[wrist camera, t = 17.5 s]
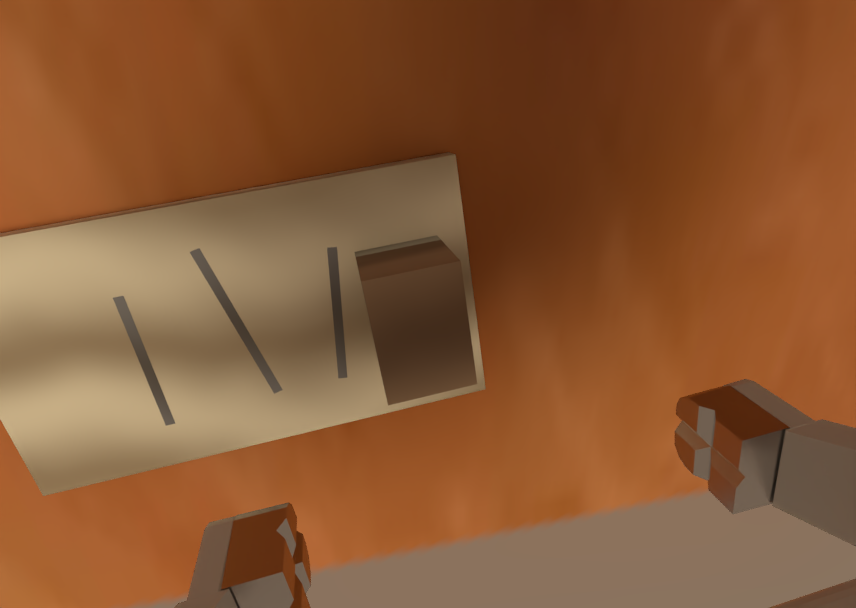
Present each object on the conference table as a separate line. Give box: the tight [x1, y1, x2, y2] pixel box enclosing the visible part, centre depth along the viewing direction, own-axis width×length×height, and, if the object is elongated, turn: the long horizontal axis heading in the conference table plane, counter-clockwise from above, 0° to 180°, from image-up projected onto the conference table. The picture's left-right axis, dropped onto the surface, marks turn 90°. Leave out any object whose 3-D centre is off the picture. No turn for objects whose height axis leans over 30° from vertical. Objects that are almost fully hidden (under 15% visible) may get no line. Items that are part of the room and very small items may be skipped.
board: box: [0, 152, 486, 496], centre depth 22 cm, size 11×20×1 cm, turn 99°
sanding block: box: [355, 235, 477, 405], centre depth 20 cm, size 5×4×4 cm
